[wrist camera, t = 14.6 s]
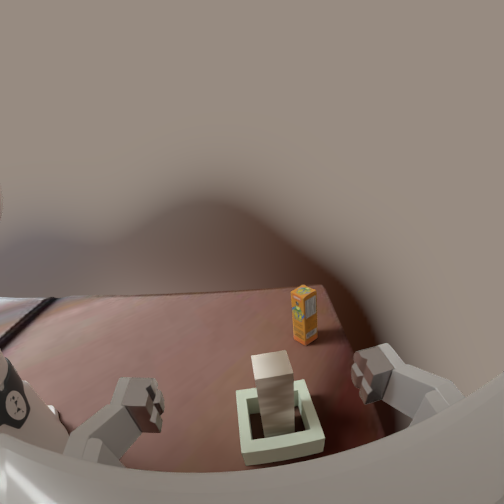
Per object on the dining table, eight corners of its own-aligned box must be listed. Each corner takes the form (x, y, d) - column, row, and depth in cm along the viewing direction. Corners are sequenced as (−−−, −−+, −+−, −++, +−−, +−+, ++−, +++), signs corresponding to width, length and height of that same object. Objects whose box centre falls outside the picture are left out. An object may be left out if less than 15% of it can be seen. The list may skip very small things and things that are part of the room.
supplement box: (291, 339, 47) (288, 290, 44) (305, 331, 49) (304, 283, 45) (304, 347, 44) (303, 297, 41) (318, 338, 46) (318, 289, 43)
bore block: (245, 465, 24) (241, 453, 23) (239, 406, 34) (235, 390, 32) (322, 451, 25) (325, 437, 23) (303, 395, 34) (304, 379, 33)
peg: (265, 442, 27) (254, 379, 23) (261, 420, 31) (251, 355, 27) (294, 436, 27) (293, 373, 24) (289, 416, 31) (285, 350, 27)
